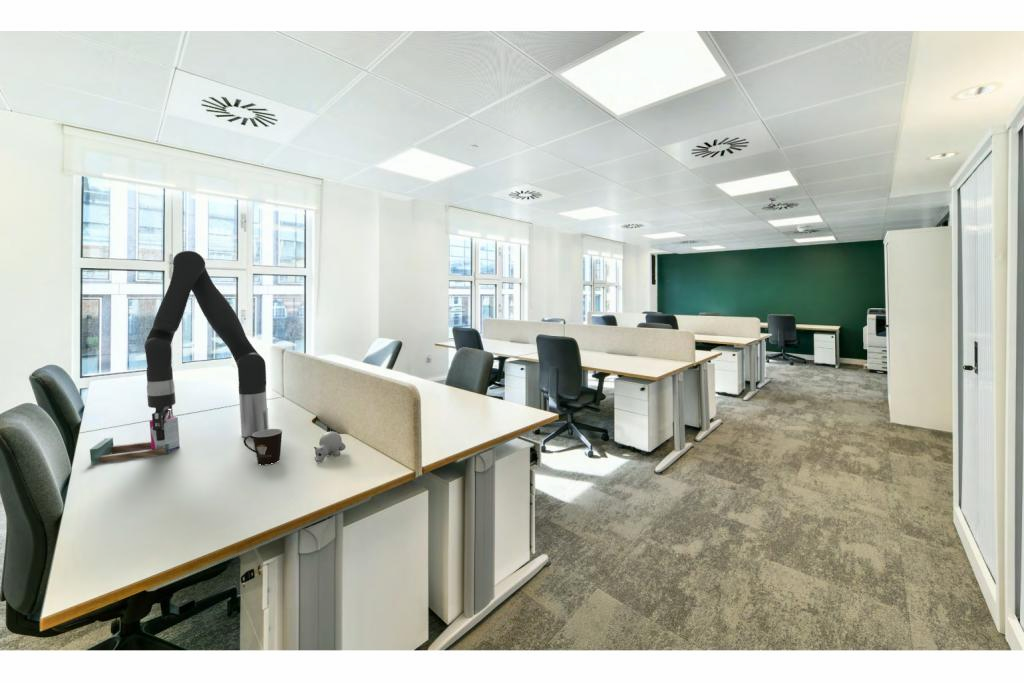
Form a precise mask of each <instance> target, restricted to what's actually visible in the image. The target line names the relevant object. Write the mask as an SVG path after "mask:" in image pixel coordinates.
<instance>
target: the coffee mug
mask: <svg viewBox="0 0 1024 683" xmlns="http://www.w3.org/2000/svg"><path fill="white" fill-rule="evenodd" d="M282 435H283V430H282V429H280V428H269V429H266V430H261V431H258V432H255V433H253V434H252V436H253V437H252V436H248V437H244V439H243V444H244V446H245V447H246V448H247V449H248V450H250V451H251V452H253V453H254V454H255V457H256V461H257V464H258V465H259V464H261V465H260V466H266V465H265V464H271V463H274V464H276V463H275V462H277V461H279V460H281V453H282V452H281V449H282V437H283V436H282ZM247 439H252V441H253V447H254V448H252V447H251V446H249V445H248V443H247ZM279 462H280V461H279ZM277 463H278V462H277ZM271 465H272V464H271Z"/></svg>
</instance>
